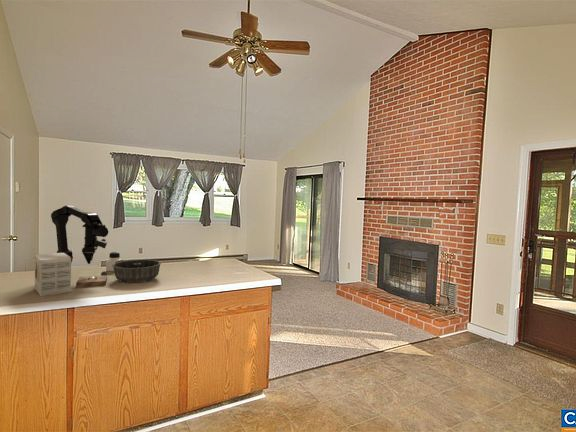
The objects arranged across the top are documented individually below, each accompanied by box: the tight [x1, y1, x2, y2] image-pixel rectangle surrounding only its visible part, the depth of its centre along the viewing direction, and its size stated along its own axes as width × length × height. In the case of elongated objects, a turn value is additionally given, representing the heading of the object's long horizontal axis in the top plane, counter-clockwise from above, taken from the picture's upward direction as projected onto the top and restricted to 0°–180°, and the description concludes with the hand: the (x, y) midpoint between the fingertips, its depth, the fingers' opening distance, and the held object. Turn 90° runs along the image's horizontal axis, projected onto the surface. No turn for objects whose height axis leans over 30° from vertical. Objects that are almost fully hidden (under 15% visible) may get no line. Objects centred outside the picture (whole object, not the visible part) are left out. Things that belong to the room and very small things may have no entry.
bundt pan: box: [112, 259, 162, 284], centre depth 202 cm, size 26×26×10 cm
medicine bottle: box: [105, 251, 124, 273], centre depth 223 cm, size 7×7×12 cm
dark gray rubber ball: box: [100, 270, 108, 276], centre depth 205 cm, size 4×4×4 cm
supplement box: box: [34, 252, 72, 297], centre depth 174 cm, size 17×13×18 cm
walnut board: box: [75, 274, 108, 288], centre depth 190 cm, size 14×14×2 cm
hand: (90, 262), depth 194 cm, fingers open, 9 cm apart
